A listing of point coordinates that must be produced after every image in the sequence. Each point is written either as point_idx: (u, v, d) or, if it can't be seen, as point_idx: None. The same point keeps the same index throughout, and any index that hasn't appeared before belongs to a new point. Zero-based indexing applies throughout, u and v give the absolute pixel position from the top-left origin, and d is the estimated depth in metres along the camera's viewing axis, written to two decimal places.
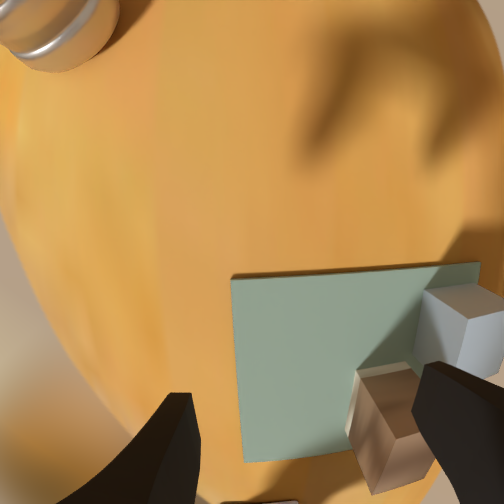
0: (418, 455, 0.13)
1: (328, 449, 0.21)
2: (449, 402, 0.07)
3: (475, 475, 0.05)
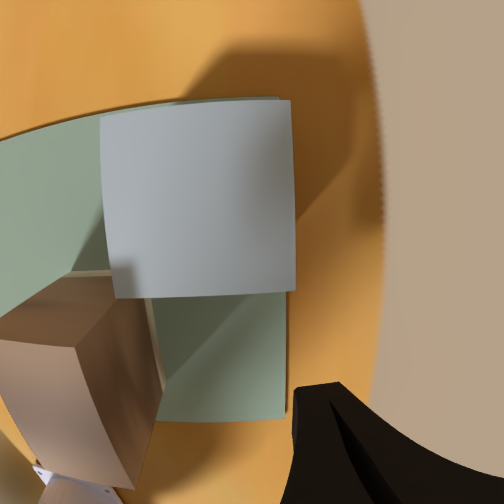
0: (53, 414, 0.07)
1: None
2: None
3: None
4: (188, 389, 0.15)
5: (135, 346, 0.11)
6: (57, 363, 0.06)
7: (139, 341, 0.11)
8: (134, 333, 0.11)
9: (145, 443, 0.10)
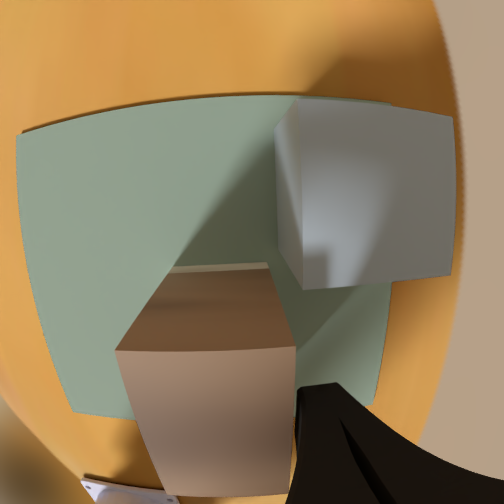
0: (224, 431, 0.07)
1: None
2: None
3: None
4: None
5: None
6: (262, 368, 0.06)
7: None
8: None
9: None
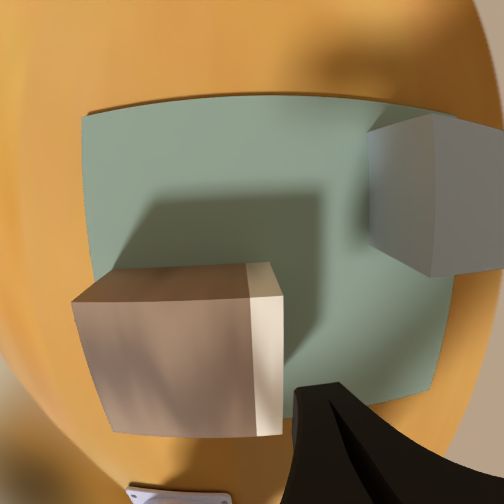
0: None
1: None
2: None
3: None
4: (365, 374, 0.15)
5: (192, 362, 0.10)
6: None
7: (207, 362, 0.10)
8: (196, 350, 0.10)
9: (162, 432, 0.10)
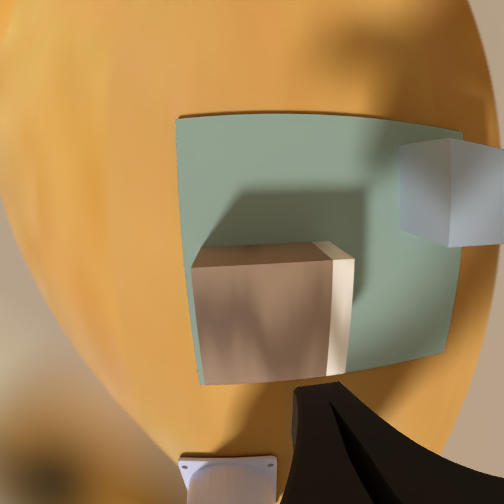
0: None
1: None
2: None
3: None
4: (395, 334, 0.19)
5: (288, 311, 0.13)
6: None
7: (298, 311, 0.13)
8: (292, 301, 0.13)
9: (251, 379, 0.14)
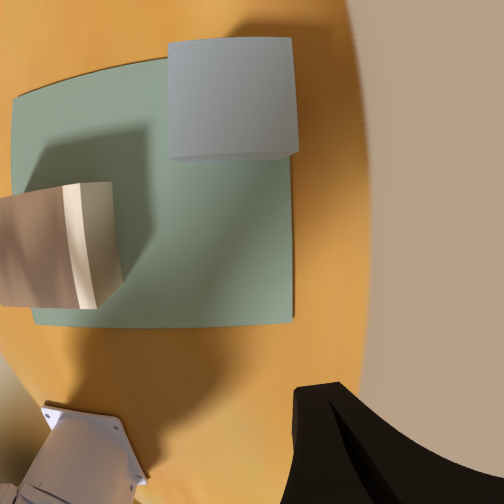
0: None
1: (114, 318, 0.18)
2: None
3: None
4: (206, 289, 0.18)
5: (36, 236, 0.13)
6: None
7: (43, 236, 0.13)
8: (37, 226, 0.12)
9: (26, 303, 0.13)
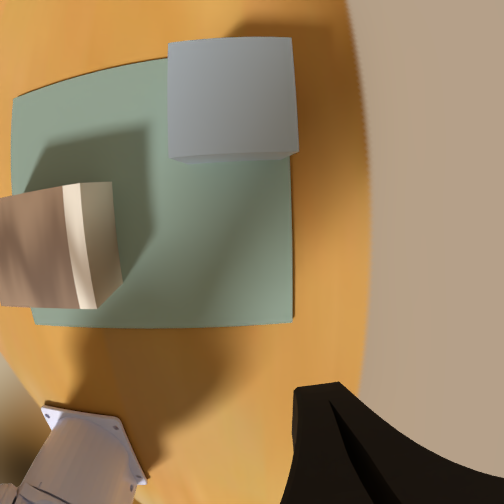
0: None
1: (114, 318, 0.18)
2: None
3: None
4: (206, 289, 0.18)
5: (36, 236, 0.13)
6: None
7: (43, 236, 0.13)
8: (37, 226, 0.12)
9: (26, 303, 0.13)
